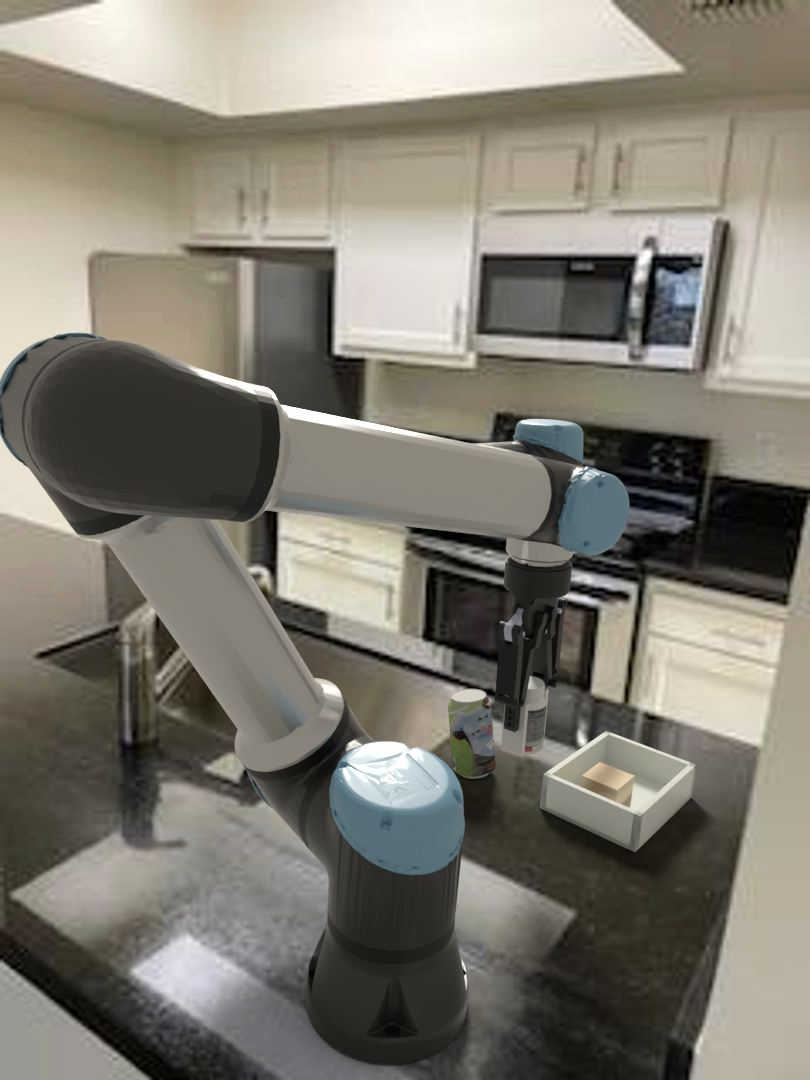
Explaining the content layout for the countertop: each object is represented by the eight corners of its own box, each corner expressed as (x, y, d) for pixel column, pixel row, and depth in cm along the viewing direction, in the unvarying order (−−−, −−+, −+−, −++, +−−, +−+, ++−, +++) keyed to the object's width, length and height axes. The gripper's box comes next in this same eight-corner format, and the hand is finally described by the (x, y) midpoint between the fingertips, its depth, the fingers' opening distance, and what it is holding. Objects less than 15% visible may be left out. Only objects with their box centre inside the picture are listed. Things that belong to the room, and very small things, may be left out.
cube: (629, 809, 111) (634, 775, 110) (612, 825, 107) (617, 790, 106) (595, 795, 114) (599, 761, 113) (577, 809, 110) (581, 775, 109)
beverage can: (492, 787, 116) (499, 707, 113) (439, 779, 117) (445, 699, 114) (496, 765, 122) (503, 688, 119) (446, 757, 123) (452, 681, 120)
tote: (635, 852, 103) (640, 816, 102) (539, 808, 111) (543, 774, 110) (691, 797, 116) (696, 764, 115) (602, 761, 124) (606, 730, 123)
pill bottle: (549, 745, 102) (555, 681, 99) (530, 760, 98) (536, 694, 96) (515, 732, 104) (520, 670, 102) (495, 746, 101) (500, 682, 98)
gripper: (534, 582, 86) (517, 785, 92) (600, 548, 100) (581, 725, 106) (471, 567, 90) (458, 763, 96) (542, 537, 104) (527, 708, 110)
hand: (523, 743), depth 101 cm, fingers closed on pill bottle, 5 cm apart
